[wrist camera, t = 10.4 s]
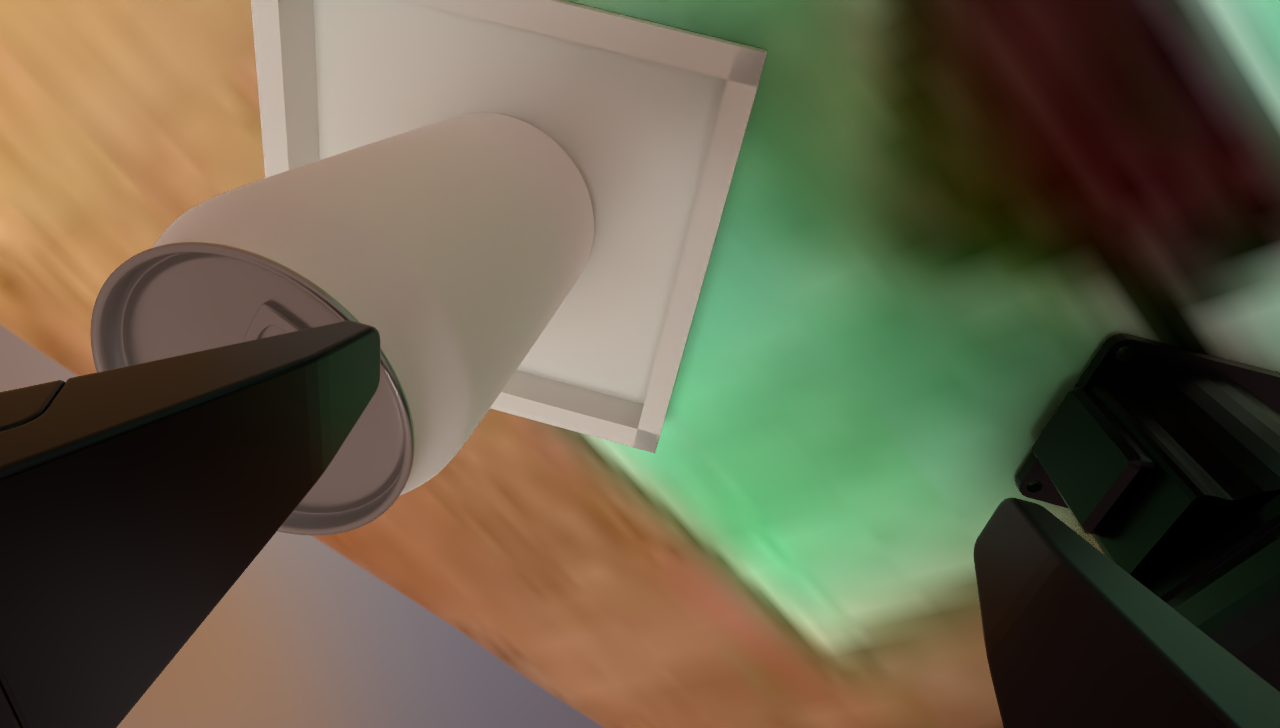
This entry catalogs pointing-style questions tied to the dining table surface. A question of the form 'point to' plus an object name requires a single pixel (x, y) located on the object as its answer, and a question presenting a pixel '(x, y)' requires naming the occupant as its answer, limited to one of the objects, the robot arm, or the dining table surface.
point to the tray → (579, 123)
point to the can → (374, 286)
